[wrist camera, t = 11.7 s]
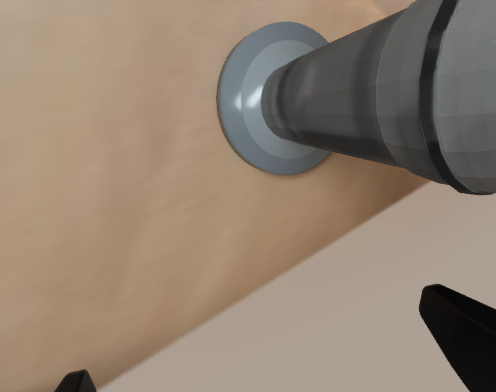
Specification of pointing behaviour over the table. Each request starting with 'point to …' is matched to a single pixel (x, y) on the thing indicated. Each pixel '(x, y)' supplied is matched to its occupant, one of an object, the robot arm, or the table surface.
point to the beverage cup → (400, 94)
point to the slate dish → (249, 96)
